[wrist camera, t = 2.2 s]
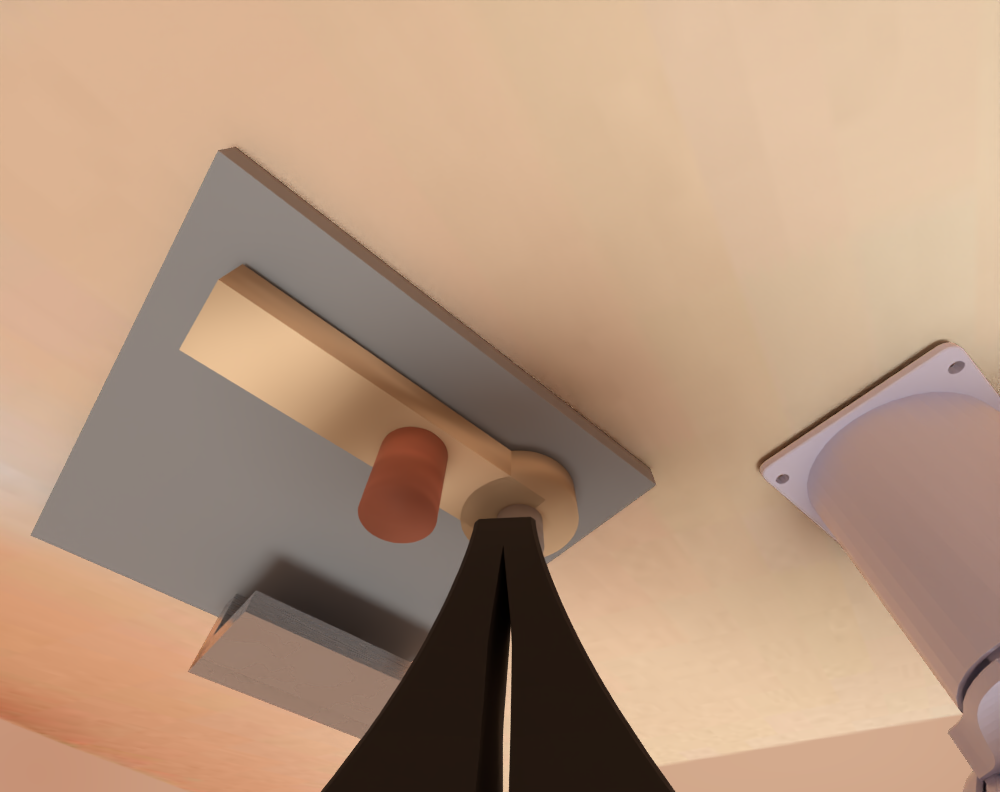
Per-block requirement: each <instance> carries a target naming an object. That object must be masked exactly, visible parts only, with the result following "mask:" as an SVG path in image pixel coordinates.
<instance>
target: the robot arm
mask: <svg viewBox="0 0 1000 792" xmlns="http://www.w3.org/2000/svg"><path fill="white" fill-rule="evenodd" d="M954 362H955V364H954V365H953V366H952V367H950V365H952V364H953V363H954ZM760 473H761V474H762V476H763V477H764V479H765V480H766V481H767V482H769V483H770V484H771V485H772V486H773V487H774V488H776V489H777V490H778V491H779V492H780V493H781V494H782V495H784V496H785V497H786V498H787V499H788V500H789V501H791V502H792V503H793V504H794V505H795V506H796V507H797V508H799V509H800V510H801V511H802V512H803V513H804V514H806V515H807V516H808V517H809V518H810V519H811V520H813V521H814V522H815V523H816V524H817V525H818V526H819V527H821V528H822V529H823V530H824V531H825V532H826V533H828V534H829V535H830V536H831V537H832V538H833V539H834V540H836V541H837V542H838V543H839V544H840V545H841V546H842V548H843V549H844V551H845V552H846V553H847V555H848V556H849V558H850V559H851V560H852V562H853V563H854V564H855V566H856V567H857V569H858V570H859V571H860V573H861V574H862V576H863V577H864V578H865V580H866V581H867V582H868V584H869V585H870V587H871V588H872V589H873V591H874V592H875V594H876V595H877V596H878V598H879V599H880V600H881V602H882V603H883V605H884V606H885V607H886V609H887V610H888V611H889V613H890V614H891V616H892V617H893V618H894V620H895V621H896V623H897V624H898V625H899V627H900V628H901V629H902V631H903V632H904V634H905V635H906V636H907V638H908V639H909V641H910V642H911V643H912V645H913V646H914V647H915V649H916V650H917V652H918V653H919V654H920V656H921V657H922V659H923V660H924V661H925V663H926V664H927V665H928V667H929V668H930V670H931V671H932V672H933V674H934V675H935V677H936V678H937V679H938V681H939V682H940V683H941V685H942V686H943V688H944V689H945V690H946V692H947V693H948V695H949V696H950V697H951V699H952V700H953V701H954V703H955V704H956V706H957V707H958V708H959V710H960V711H961V712H962V713H963V715H962V717H961V719H960V720H959V721H958V722H957V724H956V725H954V726H953V727H952V728H950V729H949V731H948V734H949V735H950V737H951V738H952V740H953V741H954V743H955V744H956V745H957V747H958V748H959V750H960V751H961V753H962V754H963V756H964V757H965V759H966V760H967V762H968V763H969V765H970V766H971V767H972V769H973V771H972V773H971V774H970V775H969V777H968V778H967V780H966V782H965V786H964V789H963V792H1000V396H999V395H998V393H997V392H996V391H995V390H994V388H993V387H992V386H991V384H990V383H989V382H988V380H987V379H986V378H985V376H984V375H983V374H982V372H981V371H980V370H979V369H978V367H977V366H976V365H975V363H974V362H973V361H972V359H971V358H970V357H969V355H968V354H967V353H966V351H965V350H964V349H963V348H961V347H960V346H958V345H956V344H955V343H951V342H947V343H942V344H940V345H938V346H936V347H935V348H933V349H932V350H930V351H929V352H927V353H926V354H924V355H923V356H921V357H920V358H918V359H917V360H915V361H914V362H912V363H911V364H909V365H908V366H906V367H905V368H903V369H902V370H900V371H899V372H897V373H896V374H894V375H893V376H891V377H890V378H888V379H887V380H886V381H884V382H883V383H881V384H880V385H878V386H877V387H875V388H874V389H872V390H871V391H869V392H868V393H866V394H865V395H863V396H862V397H860V398H859V399H857V400H856V401H854V402H853V403H851V404H850V405H848V406H847V407H845V408H844V409H842V410H841V411H839V412H838V413H836V414H835V415H833V416H832V417H830V418H829V419H827V420H826V421H824V422H823V423H821V424H820V425H818V426H817V427H815V428H814V429H812V430H811V431H809V432H808V433H806V434H805V435H803V436H802V437H800V438H799V439H797V440H796V441H794V442H793V443H791V444H790V445H788V446H787V447H785V448H784V449H782V450H781V451H779V452H778V453H776V454H775V455H774V456H772V457H771V458H769V459H768V460H766V461H765V462H764V463H762V464H761V466H760ZM782 474H783V475H782ZM780 475H782V476H781V477H778V476H780ZM510 630H511V636H512V678H511V733H510V772H509V792H675V791H674V790H673V788H672V786H671V785H670V784H669V782H668V781H667V779H666V778H665V776H664V775H663V774H662V772H661V771H660V769H659V768H658V767H657V765H656V764H655V762H654V761H653V760H652V758H651V757H650V755H649V754H648V752H647V751H646V749H645V748H644V746H643V745H642V743H641V742H640V740H639V739H638V737H637V736H636V734H635V733H634V731H633V730H632V728H631V726H630V725H629V723H628V722H627V720H626V719H625V717H624V716H623V714H622V713H621V711H620V710H619V708H618V707H617V705H616V703H615V702H614V700H613V698H612V697H611V695H610V693H609V692H608V690H607V688H606V687H605V685H604V683H603V682H602V680H601V678H600V677H599V675H598V673H597V671H596V669H595V668H594V666H593V664H592V662H591V661H590V659H589V657H588V655H587V653H586V651H585V649H584V648H583V646H582V644H581V642H580V640H579V638H578V636H577V634H576V632H575V630H574V628H573V626H572V624H571V622H570V619H569V617H568V615H567V613H566V611H565V609H564V607H563V604H562V602H561V600H560V597H559V595H558V592H557V590H556V588H555V585H554V583H553V580H552V578H551V575H550V573H549V570H548V567H547V564H546V561H545V558H544V555H543V552H542V549H541V545H540V542H539V538H538V533H537V528H536V520H535V519H533V518H532V517H511V518H488V519H478V520H477V521H476V522H475V523H474V527H473V531H472V535H471V538H470V541H469V544H468V547H467V550H466V553H465V555H464V558H463V560H462V563H461V566H460V568H459V571H458V573H457V575H456V577H455V580H454V582H453V584H452V586H451V589H450V591H449V593H448V596H447V598H446V600H445V602H444V604H443V606H442V608H441V610H440V612H439V614H438V616H437V618H436V620H435V622H434V624H433V626H432V628H431V630H430V631H429V633H428V635H427V637H426V639H425V641H424V643H423V644H422V646H421V648H420V650H419V652H418V653H417V655H416V657H415V658H414V660H413V662H412V663H411V665H410V667H409V668H408V670H407V672H406V673H405V675H404V677H403V678H402V680H401V681H400V683H399V685H398V686H397V688H396V689H395V691H394V692H393V694H392V695H391V697H390V698H389V700H388V701H387V703H386V704H385V706H384V707H383V709H382V710H381V712H380V713H379V715H378V716H377V718H376V719H375V721H374V722H373V724H372V725H371V726H370V728H369V729H368V731H367V732H366V733H365V735H364V736H363V737H362V739H361V740H360V741H359V743H358V744H357V745H356V747H355V748H354V749H353V751H352V752H351V753H350V755H349V756H348V757H347V759H346V760H345V761H344V763H343V764H342V765H341V767H340V768H339V769H338V770H337V772H336V773H335V774H334V776H333V777H332V778H331V780H330V781H329V782H328V783H327V785H326V786H325V787H324V788H323V790H322V791H321V792H503V724H504V709H505V696H506V683H507V670H508V657H509V644H510Z"/></svg>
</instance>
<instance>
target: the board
mask: <svg viewBox="0 0 1000 792" xmlns="http://www.w3.org/2000/svg"><path fill="white" fill-rule="evenodd" d="M242 264H243V265H245V266H246V267H247V268H249V269H250V270H252V271H253V272H255V273H256V274H258V275H259V276H260V277H262V278H263V279H265V280H266V281H268V282H269V283H270V284H272V285H273V286H275V287H276V288H278V289H279V290H281V291H282V292H283V293H285V294H286V295H288V296H289V297H291V298H292V299H293V300H295V301H296V302H298V303H299V304H301V305H302V306H304V307H305V308H306V309H308V310H309V311H311V312H312V313H314V314H315V315H316V316H318V317H319V318H321V319H322V320H324V321H325V322H327V323H328V324H329V325H331V326H332V327H334V328H335V329H337V330H338V331H339V332H341V333H342V334H344V335H345V336H347V337H348V338H350V339H351V340H352V341H354V342H355V343H357V344H358V345H360V346H361V347H363V348H364V349H365V350H367V351H368V352H370V353H371V354H373V355H374V356H375V357H377V358H378V359H380V360H381V361H383V362H384V363H386V364H387V365H388V366H390V367H391V368H393V369H394V370H396V371H397V372H398V373H400V374H401V375H403V376H404V377H406V378H407V379H409V380H410V381H411V382H413V383H414V384H416V385H417V386H419V387H420V388H421V389H423V390H424V391H426V392H427V393H429V394H430V395H432V396H433V397H434V398H436V399H437V400H439V401H440V402H442V403H443V404H444V405H446V406H447V407H449V408H450V409H452V410H453V411H455V412H456V413H457V414H459V415H460V416H462V417H463V418H465V419H466V420H467V421H469V422H470V423H472V424H473V425H475V426H476V427H478V428H479V429H480V430H482V431H483V432H485V433H486V434H488V435H489V436H490V437H492V438H493V439H495V440H496V441H498V442H499V443H501V444H502V445H503V446H505V447H506V448H508V449H509V450H511V451H532V452H536V453H540V454H543V455H546V456H548V457H550V458H552V459H554V460H555V461H557V462H558V463H560V464H561V465H562V466H563V467H564V468H565V469H566V470H567V472H568V473H569V474H570V476H571V478H572V480H573V484H574V488H575V495H576V501H577V507H578V514H579V523H578V527H577V530H576V532H575V534H574V536H573V537H572V539H571V540H570V541H569V542H568V543H567V544H566V545H565V546H564V547H563V548H562V549H560V550H558V551H557V552H555V553H553V554H551V555H549V556H546V557H544V558H545V561H546V564H547V563H549V562H550V561H552V560H553V559H554V558H556V557H557V556H559V555H560V554H561V553H563V552H564V551H565V550H567V549H568V548H570V547H571V546H572V545H574V544H575V543H577V542H578V541H579V540H581V539H582V538H583V537H585V536H586V535H588V534H589V533H590V532H592V531H593V530H595V529H596V528H597V527H599V526H600V525H601V524H603V523H604V522H606V521H607V520H608V519H610V518H611V517H613V516H614V515H615V514H617V513H618V512H619V511H621V510H622V509H624V508H625V507H626V506H628V505H629V504H631V503H632V502H633V501H635V500H636V499H637V498H639V497H640V496H642V495H643V494H644V493H646V492H647V491H648V490H650V489H651V488H653V487H654V486H655V485H656V483H655V480H654V477H653V475H652V472H651V469H650V468H648V467H647V466H646V465H645V464H643V463H642V462H641V461H639V460H638V459H637V458H636V457H634V456H633V455H632V454H630V453H629V452H628V451H627V450H625V449H624V448H623V447H621V446H620V445H619V444H617V443H616V442H615V441H614V440H612V439H611V438H610V437H608V436H607V435H606V434H605V433H603V432H602V431H601V430H599V429H598V428H597V427H596V426H594V425H593V424H592V423H590V422H589V421H588V420H587V419H585V418H584V417H583V416H581V415H580V414H579V413H577V412H576V411H575V410H574V409H572V408H571V407H570V406H568V405H567V404H566V403H565V402H563V401H562V400H561V399H559V398H558V397H557V396H556V395H554V394H553V393H552V392H550V391H549V390H548V389H547V388H545V387H544V386H543V385H541V384H540V383H539V382H537V381H536V380H535V379H534V378H532V377H531V376H530V375H528V374H527V373H526V372H525V371H523V370H522V369H521V368H519V367H518V366H517V365H516V364H514V363H513V362H512V361H510V360H509V359H508V358H507V357H505V356H504V355H503V354H501V353H500V352H499V351H498V350H496V349H495V348H494V347H492V346H491V345H490V344H488V343H487V342H486V341H485V340H483V339H482V338H481V337H479V336H478V335H477V334H476V333H474V332H473V331H472V330H470V329H469V328H468V327H467V326H465V325H464V324H463V323H461V322H460V321H459V320H458V319H456V318H455V317H454V316H452V315H451V314H450V313H448V312H447V311H446V310H445V309H443V308H442V307H441V306H439V305H438V304H437V303H436V302H434V301H433V300H432V299H430V298H429V297H428V296H427V295H425V294H424V293H423V292H421V291H420V290H419V289H418V288H416V287H415V286H414V285H412V284H411V283H410V282H408V281H407V280H406V279H405V278H403V277H402V276H401V275H399V274H398V273H397V272H396V271H394V270H393V269H392V268H390V267H389V266H388V265H387V264H385V263H384V262H383V261H381V260H380V259H379V258H378V257H376V256H375V255H374V254H372V253H371V252H370V251H369V250H367V249H366V248H365V247H363V246H362V245H361V244H359V243H358V242H357V241H356V240H354V239H353V238H352V237H350V236H349V235H348V234H347V233H345V232H344V231H343V230H341V229H340V228H339V227H338V226H336V225H335V224H334V223H332V222H331V221H330V220H329V219H327V218H326V217H325V216H323V215H322V214H321V213H319V212H318V211H317V210H316V209H314V208H313V207H312V206H310V205H309V204H308V203H307V202H305V201H304V200H303V199H301V198H300V197H299V196H298V195H296V194H295V193H294V192H292V191H291V190H290V189H289V188H287V187H286V186H285V185H283V184H282V183H281V182H279V181H278V180H277V179H276V178H274V177H273V176H272V175H270V174H269V173H268V172H267V171H265V170H264V169H263V168H261V167H260V166H259V165H258V164H256V163H255V162H254V161H252V160H251V159H250V158H249V157H247V156H246V155H245V154H243V153H242V152H241V151H240V150H238V149H237V148H236V147H233V148H228V149H223V150H218V152H217V154H216V156H215V158H214V160H213V162H212V164H211V166H210V168H209V170H208V172H207V175H206V177H205V179H204V181H203V183H202V185H201V187H200V189H199V191H198V193H197V195H196V197H195V199H194V201H193V203H192V205H191V207H190V209H189V211H188V213H187V216H186V218H185V220H184V222H183V224H182V226H181V228H180V230H179V232H178V234H177V236H176V238H175V240H174V242H173V244H172V246H171V248H170V250H169V252H168V255H167V257H166V259H165V261H164V263H163V265H162V267H161V269H160V271H159V273H158V275H157V277H156V279H155V281H154V283H153V285H152V287H151V289H150V291H149V293H148V296H147V298H146V300H145V302H144V304H143V306H142V308H141V310H140V312H139V314H138V316H137V318H136V320H135V322H134V324H133V326H132V328H131V330H130V332H129V335H128V337H127V339H126V341H125V343H124V345H123V347H122V349H121V351H120V353H119V355H118V357H117V359H116V361H115V363H114V365H113V367H112V369H111V371H110V373H109V376H108V378H107V380H106V382H105V384H104V386H103V388H102V390H101V392H100V394H99V396H98V398H97V400H96V402H95V404H94V406H93V408H92V410H91V412H90V415H89V417H88V419H87V421H86V423H85V425H84V427H83V429H82V431H81V433H80V435H79V437H78V439H77V441H76V443H75V445H74V447H73V449H72V451H71V453H70V456H69V458H68V460H67V462H66V464H65V466H64V468H63V470H62V472H61V474H60V476H59V478H58V480H57V482H56V484H55V486H54V488H53V490H52V492H51V495H50V497H49V499H48V501H47V503H46V505H45V507H44V509H43V511H42V513H41V515H40V517H39V519H38V521H37V523H36V525H35V527H34V529H33V531H32V533H31V536H33V537H36V538H38V539H40V540H42V541H45V542H47V543H49V544H52V545H54V546H56V547H59V548H61V549H63V550H65V551H68V552H70V553H72V554H75V555H77V556H79V557H81V558H84V559H86V560H88V561H91V562H93V563H95V564H98V565H100V566H102V567H104V568H107V569H109V570H111V571H114V572H116V573H118V574H121V575H123V576H125V577H127V578H130V579H132V580H134V581H137V582H139V583H141V584H144V585H146V586H148V587H150V588H153V589H155V590H157V591H160V592H162V593H164V594H167V595H169V596H171V597H173V598H176V599H178V600H180V601H183V602H185V603H187V604H190V605H192V606H194V607H196V608H199V609H201V610H203V611H206V612H208V613H210V614H213V615H215V616H217V617H219V615H220V613H221V612H222V610H223V608H224V607H225V606H226V604H227V603H228V602H229V601H230V600H231V599H232V598H233V597H234V596H235V594H236V593H237V594H239V595H241V596H243V597H246V598H249V597H250V596H251V595H252V594H253V593H254V592H255V591H256V590H257V591H259V592H261V593H263V594H265V595H267V596H269V597H272V598H274V599H276V600H278V601H280V602H282V603H284V604H287V605H289V606H291V607H293V608H295V609H297V610H299V611H302V612H304V613H306V614H308V615H310V616H312V617H314V618H317V619H319V620H321V621H323V622H325V623H327V624H329V625H332V626H334V627H336V628H338V629H340V630H342V631H345V632H347V633H349V634H351V635H353V636H355V637H357V638H360V639H362V640H364V641H366V642H368V643H370V644H372V645H375V646H377V647H379V648H381V649H383V650H385V651H387V652H390V653H392V654H394V655H396V656H398V657H400V658H402V659H405V660H407V661H409V662H412V661H413V660H414V658H415V657H416V655H417V653H418V652H419V650H420V648H421V646H422V644H423V643H424V641H425V639H426V637H427V635H428V633H429V631H430V630H431V628H432V626H433V624H434V622H435V620H436V618H437V616H438V614H439V612H440V610H441V608H442V606H443V604H444V602H445V600H446V598H447V596H448V593H449V591H450V589H451V586H452V584H453V582H454V580H455V577H456V575H457V573H458V571H459V568H460V566H461V563H462V560H463V558H464V555H465V553H466V550H467V547H468V544H469V540H468V539H467V537H466V536H465V534H464V532H463V530H462V526H461V520H459V519H457V518H456V517H454V516H452V515H451V514H449V513H447V512H446V511H444V510H442V509H441V508H439V512H438V518H437V523H436V526H435V528H434V530H433V531H432V532H431V534H430V535H428V536H427V537H425V538H424V539H422V540H419V541H416V542H412V543H393V542H388V541H385V540H382V539H380V538H378V537H376V536H374V535H372V534H371V533H370V532H368V531H367V530H366V529H365V528H364V526H363V525H362V523H361V522H360V519H359V516H358V506H359V503H360V500H361V498H362V495H363V492H364V490H365V487H366V484H367V482H368V479H369V476H370V473H371V471H372V468H373V467H372V466H370V465H368V464H367V463H365V462H363V461H362V460H360V459H358V458H357V457H355V456H353V455H352V454H350V453H348V452H347V451H345V450H344V449H342V448H340V447H339V446H337V445H335V444H334V443H332V442H330V441H329V440H327V439H325V438H324V437H322V436H320V435H319V434H317V433H315V432H314V431H312V430H311V429H309V428H307V427H306V426H304V425H302V424H301V423H299V422H297V421H296V420H294V419H292V418H291V417H289V416H287V415H286V414H284V413H283V412H281V411H279V410H278V409H276V408H274V407H273V406H271V405H269V404H268V403H266V402H264V401H263V400H261V399H259V398H258V397H256V396H254V395H253V394H251V393H250V392H248V391H246V390H245V389H243V388H241V387H240V386H238V385H236V384H235V383H233V382H231V381H230V380H228V379H226V378H225V377H223V376H221V375H220V374H218V373H217V372H215V371H213V370H212V369H210V368H208V367H207V366H205V365H203V364H202V363H200V362H198V361H197V360H195V359H193V358H192V357H190V356H189V355H187V354H185V353H184V352H182V351H180V350H179V349H180V347H181V345H182V343H183V342H184V340H185V338H186V336H187V335H188V333H189V331H190V329H191V327H192V326H193V324H194V322H195V320H196V318H197V317H198V315H199V313H200V311H201V310H202V308H203V306H204V304H205V302H206V301H207V299H208V297H209V295H210V293H211V292H212V290H213V288H214V286H215V284H216V283H217V281H218V279H220V278H221V277H223V276H225V275H226V274H228V273H229V272H231V271H232V270H234V269H235V268H237V267H239V266H240V265H242Z"/></svg>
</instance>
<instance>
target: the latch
mask: <svg viewBox="0 0 1000 792" xmlns="http://www.w3.org/2000/svg"><path fill="white" fill-rule="evenodd" d="M179 350H180V351H182V352H184V353H185V354H187V355H189V356H190V357H192V358H193V359H195V360H197V361H198V362H200V363H202V364H203V365H205V366H207V367H208V368H210V369H212V370H213V371H215V372H217V373H218V374H220V375H221V376H223V377H225V378H226V379H228V380H230V381H231V382H233V383H235V384H236V385H238V386H240V387H241V388H243V389H245V390H246V391H248V392H250V393H251V394H253V395H254V396H256V397H258V398H259V399H261V400H263V401H264V402H266V403H268V404H269V405H271V406H273V407H274V408H276V409H278V410H279V411H281V412H283V413H284V414H286V415H287V416H289V417H291V418H292V419H294V420H296V421H297V422H299V423H301V424H302V425H304V426H306V427H307V428H309V429H311V430H312V431H314V432H315V433H317V434H319V435H320V436H322V437H324V438H325V439H327V440H329V441H330V442H332V443H334V444H335V445H337V446H339V447H340V448H342V449H344V450H345V451H347V452H348V453H350V454H352V455H353V456H355V457H357V458H358V459H360V460H362V461H363V462H365V463H367V464H368V465H370V466H372V467H373V468H372V471H371V473H370V476H369V479H368V482H367V484H366V487H365V490H364V492H363V495H362V498H361V500H360V503H359V506H358V516H359V519H360V522H361V523H362V525H363V526H364V528H365V529H366V530H367V531H368V532H370V533H371V534H372V535H374V536H376V537H378V538H380V539H382V540H385V541H388V542H393V543H412V542H416V541H419V540H422V539H424V538H425V537H427V536H428V535H430V534H431V532H432V531H433V530H434V528H435V526H436V523H437V518H438V512H439V508H441V509H442V510H444V511H446V512H447V513H449V514H451V515H452V516H454V517H456V518H457V519H459V520H461V526H462V530H463V532H464V534H465V536H466V537H467V539H468V540H469V541H470V538H471V535H472V531H473V527H474V523H475V522H476V521H477V520H478V519H488V518H511V517H532V518H533V519H535V520H536V528H537V533H538V538H539V542H540V545H541V549H542V552H543V555H544V557H546V556H549V555H551V554H553V553H555V552H557V551H558V550H560V549H562V548H563V547H564V546H565V545H566V544H567V543H568V542H569V541H570V540H571V539H572V537H573V536H574V534H575V532H576V530H577V527H578V523H579V514H578V507H577V501H576V495H575V488H574V484H573V480H572V478H571V476H570V474H569V473H568V472H567V470H566V469H565V468H564V467H563V466H562V465H561V464H560V463H558V462H557V461H555V460H554V459H552V458H550V457H548V456H546V455H543V454H540V453H536V452H532V451H511V450H509V449H508V448H506V447H505V446H503V445H502V444H501V443H499V442H498V441H496V440H495V439H493V438H492V437H490V436H489V435H488V434H486V433H485V432H483V431H482V430H480V429H479V428H478V427H476V426H475V425H473V424H472V423H470V422H469V421H467V420H466V419H465V418H463V417H462V416H460V415H459V414H457V413H456V412H455V411H453V410H452V409H450V408H449V407H447V406H446V405H444V404H443V403H442V402H440V401H439V400H437V399H436V398H434V397H433V396H432V395H430V394H429V393H427V392H426V391H424V390H423V389H421V388H420V387H419V386H417V385H416V384H414V383H413V382H411V381H410V380H409V379H407V378H406V377H404V376H403V375H401V374H400V373H398V372H397V371H396V370H394V369H393V368H391V367H390V366H388V365H387V364H386V363H384V362H383V361H381V360H380V359H378V358H377V357H375V356H374V355H373V354H371V353H370V352H368V351H367V350H365V349H364V348H363V347H361V346H360V345H358V344H357V343H355V342H354V341H352V340H351V339H350V338H348V337H347V336H345V335H344V334H342V333H341V332H339V331H338V330H337V329H335V328H334V327H332V326H331V325H329V324H328V323H327V322H325V321H324V320H322V319H321V318H319V317H318V316H316V315H315V314H314V313H312V312H311V311H309V310H308V309H306V308H305V307H304V306H302V305H301V304H299V303H298V302H296V301H295V300H293V299H292V298H291V297H289V296H288V295H286V294H285V293H283V292H282V291H281V290H279V289H278V288H276V287H275V286H273V285H272V284H270V283H269V282H268V281H266V280H265V279H263V278H262V277H260V276H259V275H258V274H256V273H255V272H253V271H252V270H250V269H249V268H247V267H246V266H245V265H243V264H242V265H240V266H239V267H237V268H235V269H234V270H232V271H231V272H229V273H228V274H226V275H225V276H223V277H221V278H220V279H218V281H217V283H216V284H215V286H214V288H213V290H212V292H211V293H210V295H209V297H208V299H207V301H206V302H205V304H204V306H203V308H202V310H201V311H200V313H199V315H198V317H197V318H196V320H195V322H194V324H193V326H192V327H191V329H190V331H189V333H188V335H187V336H186V338H185V340H184V342H183V343H182V345H181V347H180V349H179Z"/></svg>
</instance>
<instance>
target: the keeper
mask: <svg viewBox="0 0 1000 792" xmlns="http://www.w3.org/2000/svg"><path fill="white" fill-rule="evenodd" d="M410 665H411V662H409V661H407V660H405V659H402V658H400V657H398V656H396V655H394V654H392V653H390V652H387V651H385V650H383V649H381V648H379V647H377V646H375V645H372V644H370V643H368V642H366V641H364V640H362V639H360V638H357V637H355V636H353V635H351V634H349V633H347V632H345V631H342V630H340V629H338V628H336V627H334V626H332V625H329V624H327V623H325V622H323V621H321V620H319V619H317V618H314V617H312V616H310V615H308V614H306V613H304V612H302V611H299V610H297V609H295V608H293V607H291V606H289V605H287V604H284V603H282V602H280V601H278V600H276V599H274V598H272V597H269V596H267V595H265V594H263V593H261V592H259V591H257V590H256V591H255V592H254V593H253V594H252V595H251V596H250V597H249V598H246V597H243V596H241V595H239V594H237V593H236V594H235V596H234V597H233V598H232V599H231V600H230V601H229V602H228V603H227V604H226V606H225V607H224V608H223V610H222V612H221V613H220V615H219V617H218V619H217V621H216V622H215V624H214V626H213V628H212V630H211V631H210V633H209V635H208V637H207V638H206V640H205V642H204V644H203V646H202V647H201V649H200V651H199V653H198V655H197V656H196V658H195V660H194V662H193V664H192V665H191V667H190V669H189V671H188V672H190V673H192V674H195V675H198V676H200V677H203V678H205V679H208V680H210V681H213V682H216V683H218V684H221V685H223V686H226V687H228V688H231V689H234V690H236V691H239V692H241V693H244V694H246V695H249V696H252V697H254V698H257V699H259V700H262V701H265V702H267V703H270V704H272V705H275V706H277V707H280V708H283V709H285V710H288V711H290V712H293V713H295V714H298V715H301V716H303V717H306V718H308V719H311V720H313V721H316V722H319V723H321V724H324V725H326V726H329V727H332V728H334V729H337V730H339V731H342V732H344V733H347V734H350V735H352V736H355V737H357V738H360V739H362V737H363V736H364V735H365V733H366V732H367V731H368V729H369V728H370V726H371V725H372V724H373V722H374V721H375V719H376V718H377V716H378V715H379V713H380V712H381V710H382V709H383V707H384V706H385V704H386V703H387V701H388V700H389V698H390V697H391V695H392V694H393V692H394V691H395V689H396V688H397V686H398V685H399V683H400V681H401V680H402V678H403V677H404V675H405V673H406V672H407V670H408V668H409V667H410Z"/></svg>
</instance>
